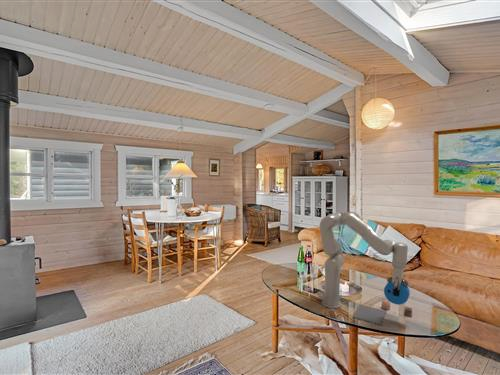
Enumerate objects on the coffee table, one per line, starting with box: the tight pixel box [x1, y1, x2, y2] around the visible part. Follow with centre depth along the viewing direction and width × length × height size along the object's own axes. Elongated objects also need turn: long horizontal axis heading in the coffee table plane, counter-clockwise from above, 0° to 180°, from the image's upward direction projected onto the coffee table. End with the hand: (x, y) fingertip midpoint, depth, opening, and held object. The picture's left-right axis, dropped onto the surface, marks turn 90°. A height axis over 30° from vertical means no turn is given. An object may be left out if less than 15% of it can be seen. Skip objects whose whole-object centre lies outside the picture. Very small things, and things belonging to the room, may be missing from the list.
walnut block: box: [403, 306, 413, 318], centre depth 185 cm, size 4×4×4 cm
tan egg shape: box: [381, 298, 391, 311], centre depth 193 cm, size 5×5×5 cm
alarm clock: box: [383, 276, 411, 306], centre depth 176 cm, size 13×6×15 cm, turn 55°
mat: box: [352, 304, 387, 326], centre depth 184 cm, size 16×20×1 cm
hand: (396, 293), depth 176 cm, fingers closed on alarm clock, 6 cm apart
